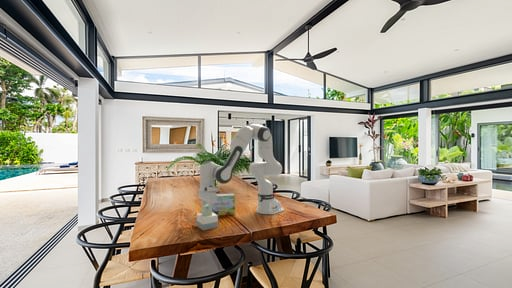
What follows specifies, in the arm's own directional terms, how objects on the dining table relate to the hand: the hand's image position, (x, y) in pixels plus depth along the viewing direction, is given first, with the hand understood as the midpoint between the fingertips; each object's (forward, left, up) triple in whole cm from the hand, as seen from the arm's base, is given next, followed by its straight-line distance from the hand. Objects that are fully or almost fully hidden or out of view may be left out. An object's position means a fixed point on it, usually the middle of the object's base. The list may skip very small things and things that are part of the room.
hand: (206, 208), depth 153 cm
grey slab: (0, 0, -12) cm, 12 cm away
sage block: (0, 0, -4) cm, 4 cm away
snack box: (-19, -18, -12) cm, 29 cm away
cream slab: (0, 0, -8) cm, 8 cm away
